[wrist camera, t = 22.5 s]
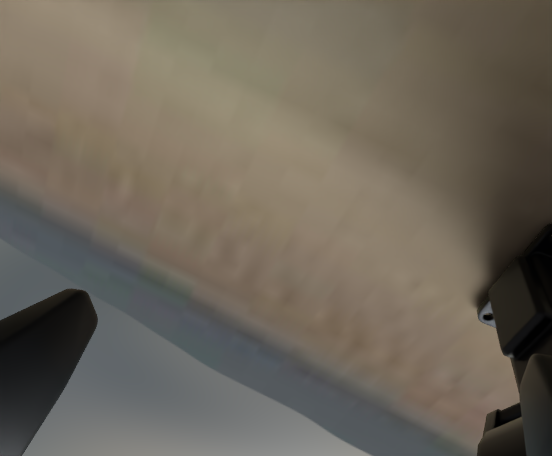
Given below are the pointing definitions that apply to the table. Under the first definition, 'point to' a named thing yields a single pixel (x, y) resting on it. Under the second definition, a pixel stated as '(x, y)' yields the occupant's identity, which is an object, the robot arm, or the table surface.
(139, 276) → the table surface
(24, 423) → the robot arm
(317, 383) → the table surface
